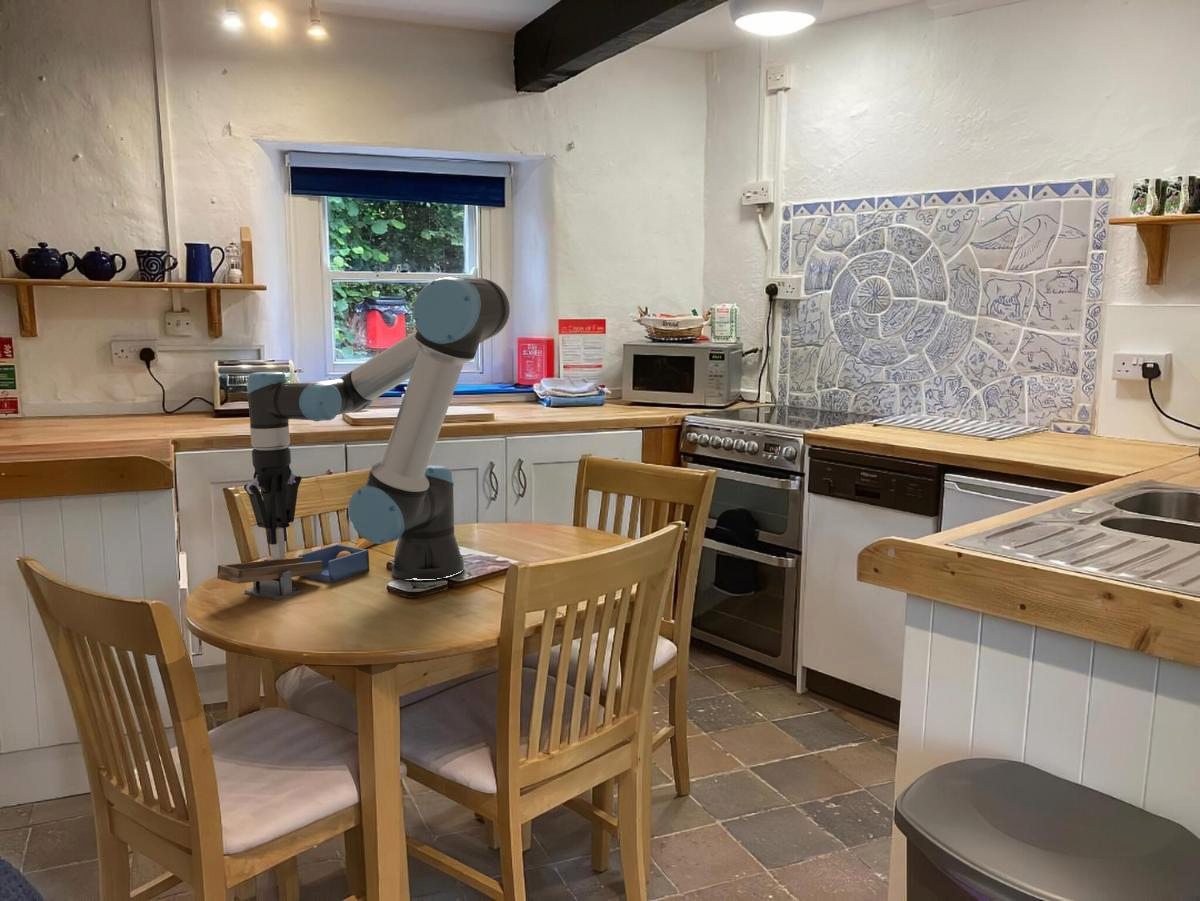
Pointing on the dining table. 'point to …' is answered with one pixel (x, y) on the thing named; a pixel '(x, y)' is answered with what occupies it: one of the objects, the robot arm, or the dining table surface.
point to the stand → (274, 588)
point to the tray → (338, 562)
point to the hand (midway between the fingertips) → (278, 558)
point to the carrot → (364, 544)
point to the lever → (267, 569)
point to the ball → (343, 554)
